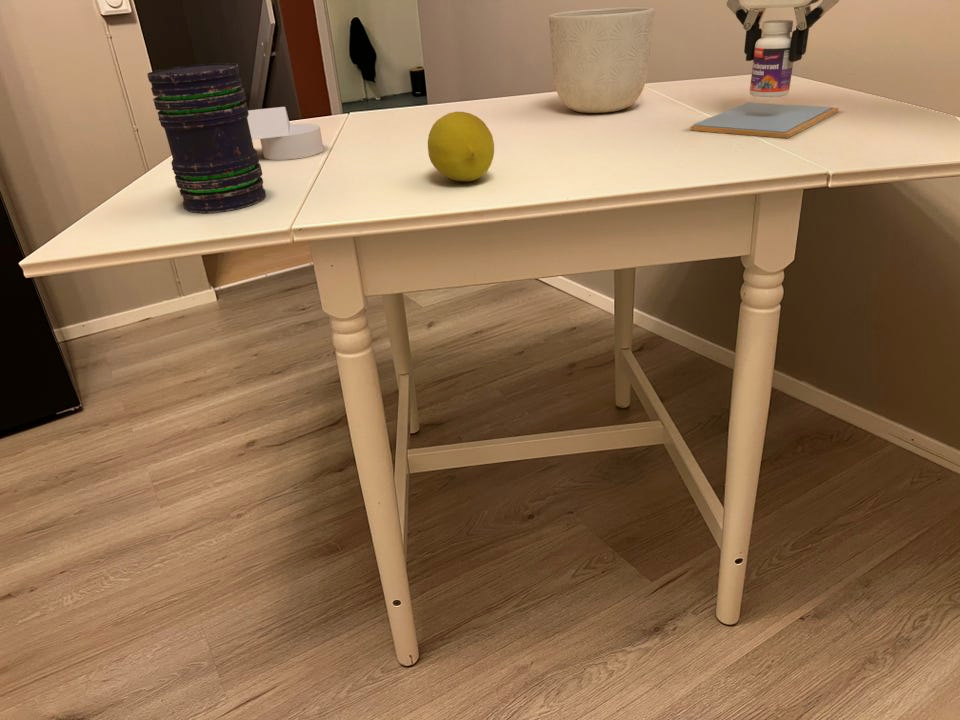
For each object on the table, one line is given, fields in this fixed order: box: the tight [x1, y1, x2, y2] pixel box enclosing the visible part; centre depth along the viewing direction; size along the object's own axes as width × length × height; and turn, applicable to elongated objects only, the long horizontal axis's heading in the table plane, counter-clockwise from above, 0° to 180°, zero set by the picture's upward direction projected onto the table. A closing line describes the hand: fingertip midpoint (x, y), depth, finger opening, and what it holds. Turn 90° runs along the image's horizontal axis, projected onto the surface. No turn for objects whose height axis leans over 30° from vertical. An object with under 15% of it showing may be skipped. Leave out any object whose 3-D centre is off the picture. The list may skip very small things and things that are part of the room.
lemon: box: [427, 111, 495, 183], centre depth 85 cm, size 11×8×8 cm
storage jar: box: [146, 62, 267, 214], centre depth 82 cm, size 10×10×15 cm
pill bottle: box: [749, 19, 794, 98], centre depth 101 cm, size 5×5×10 cm
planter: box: [548, 6, 655, 114], centre depth 119 cm, size 17×17×15 cm
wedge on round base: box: [247, 106, 325, 161], centre depth 106 cm, size 9×7×13 cm
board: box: [690, 102, 839, 139], centre depth 105 cm, size 14×20×1 cm
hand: (773, 58), depth 101 cm, fingers closed on pill bottle, 5 cm apart
